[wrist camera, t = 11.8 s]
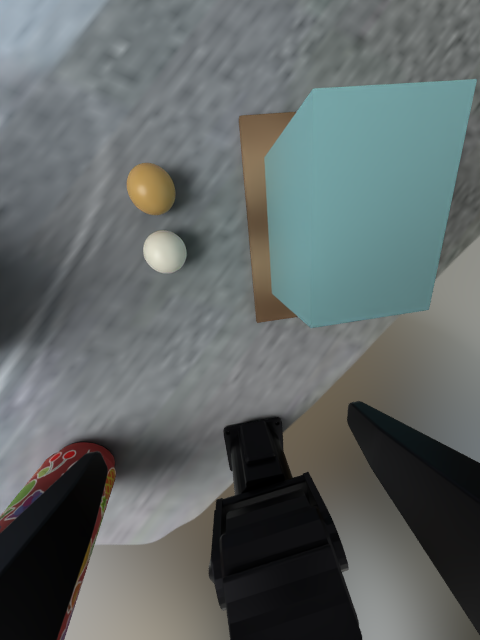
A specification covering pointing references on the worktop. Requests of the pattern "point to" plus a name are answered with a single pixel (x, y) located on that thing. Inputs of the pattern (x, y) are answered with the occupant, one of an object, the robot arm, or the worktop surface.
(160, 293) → the worktop surface
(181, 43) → the worktop surface
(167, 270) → the white egg
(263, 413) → the worktop surface
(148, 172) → the amber egg
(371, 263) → the light blue block
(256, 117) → the walnut board
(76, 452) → the smoothie
